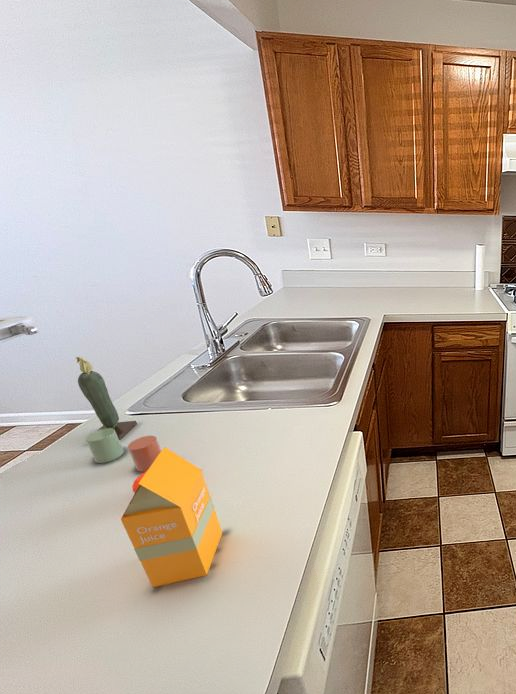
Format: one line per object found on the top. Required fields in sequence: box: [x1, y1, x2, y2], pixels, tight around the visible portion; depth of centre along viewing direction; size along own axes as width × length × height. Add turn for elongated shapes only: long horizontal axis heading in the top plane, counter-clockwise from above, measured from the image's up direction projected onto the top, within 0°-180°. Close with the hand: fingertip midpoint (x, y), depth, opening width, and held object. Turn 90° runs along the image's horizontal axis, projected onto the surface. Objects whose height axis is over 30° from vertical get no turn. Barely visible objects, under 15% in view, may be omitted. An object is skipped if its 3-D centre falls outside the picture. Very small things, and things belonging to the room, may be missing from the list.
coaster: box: [96, 420, 138, 441], centre depth 100 cm, size 7×7×1 cm
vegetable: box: [75, 356, 120, 428], centre depth 96 cm, size 4×4×20 cm
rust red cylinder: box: [127, 435, 162, 473], centre depth 88 cm, size 5×5×6 cm
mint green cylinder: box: [85, 428, 125, 464], centre depth 90 cm, size 5×5×6 cm
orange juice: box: [120, 446, 223, 588], centre depth 63 cm, size 8×9×20 cm
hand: (12, 337), depth 88 cm, fingers open, 8 cm apart
